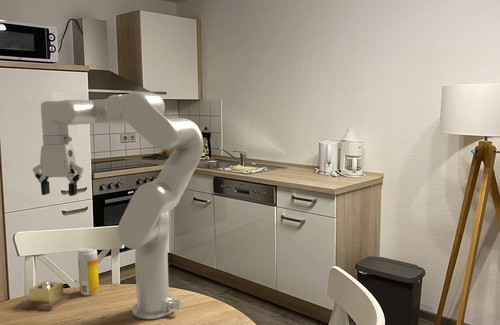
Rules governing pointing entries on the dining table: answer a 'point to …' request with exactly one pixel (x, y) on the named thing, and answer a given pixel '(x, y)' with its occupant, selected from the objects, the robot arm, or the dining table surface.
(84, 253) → the beer can
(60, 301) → the keeper block
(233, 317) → the dining table surface
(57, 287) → the square wooden frame
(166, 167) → the robot arm
